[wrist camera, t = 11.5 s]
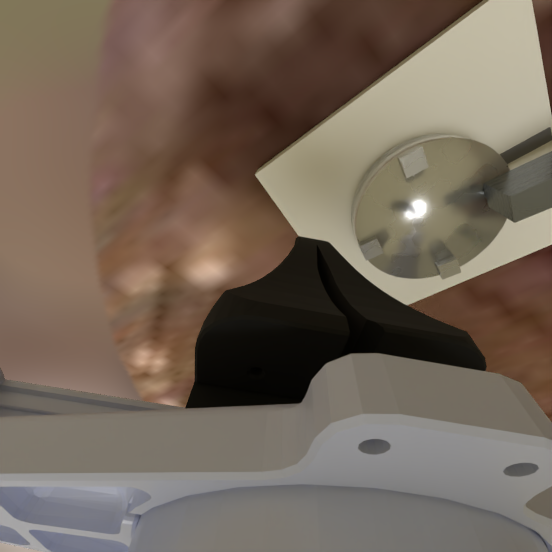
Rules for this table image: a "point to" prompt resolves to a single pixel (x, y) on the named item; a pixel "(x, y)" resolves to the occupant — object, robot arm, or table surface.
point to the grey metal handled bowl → (442, 204)
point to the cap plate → (421, 121)
